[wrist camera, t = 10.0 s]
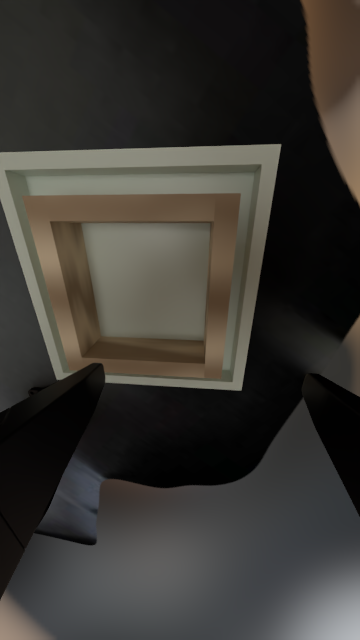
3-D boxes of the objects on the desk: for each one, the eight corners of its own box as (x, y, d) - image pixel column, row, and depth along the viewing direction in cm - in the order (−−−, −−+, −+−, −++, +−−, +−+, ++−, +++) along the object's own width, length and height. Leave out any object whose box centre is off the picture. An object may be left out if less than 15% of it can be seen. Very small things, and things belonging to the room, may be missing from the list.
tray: (237, 374, 23) (241, 390, 21) (69, 365, 25) (56, 379, 22) (268, 157, 15) (281, 144, 13) (15, 163, 16) (-14, 152, 14)
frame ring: (217, 353, 21) (221, 378, 18) (90, 347, 22) (69, 370, 19) (231, 201, 16) (241, 193, 12) (60, 203, 17) (21, 195, 13)
